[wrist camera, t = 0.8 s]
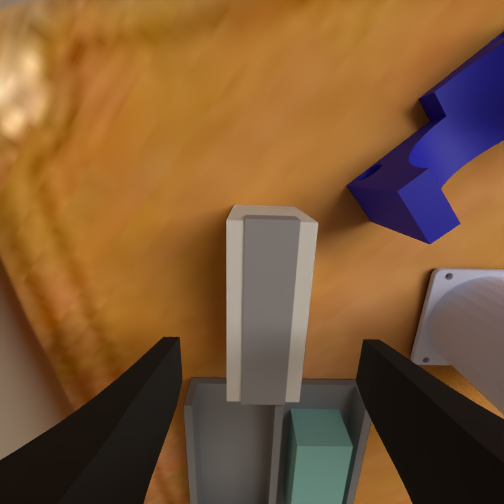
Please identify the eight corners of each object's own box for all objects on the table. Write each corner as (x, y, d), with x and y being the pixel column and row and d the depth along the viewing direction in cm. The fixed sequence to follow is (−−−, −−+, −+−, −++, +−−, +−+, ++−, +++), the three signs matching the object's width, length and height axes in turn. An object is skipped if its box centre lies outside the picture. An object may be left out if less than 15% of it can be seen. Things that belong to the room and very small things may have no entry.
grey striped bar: (294, 204, 17) (319, 220, 11) (284, 336, 20) (299, 405, 14) (234, 203, 17) (226, 218, 11) (233, 336, 20) (226, 404, 14)
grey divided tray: (359, 379, 21) (376, 412, 18) (335, 505, 25) (346, 548, 23) (191, 377, 21) (181, 410, 18) (198, 505, 25) (191, 548, 22)
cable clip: (513, 23, 14) (697, -83, 8) (542, 95, 15) (723, 46, 9) (332, 166, 16) (379, 162, 10) (369, 220, 17) (429, 244, 11)
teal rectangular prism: (338, 409, 21) (353, 446, 18) (325, 490, 24) (335, 534, 21) (290, 408, 21) (297, 446, 18) (283, 490, 24) (287, 534, 21)
